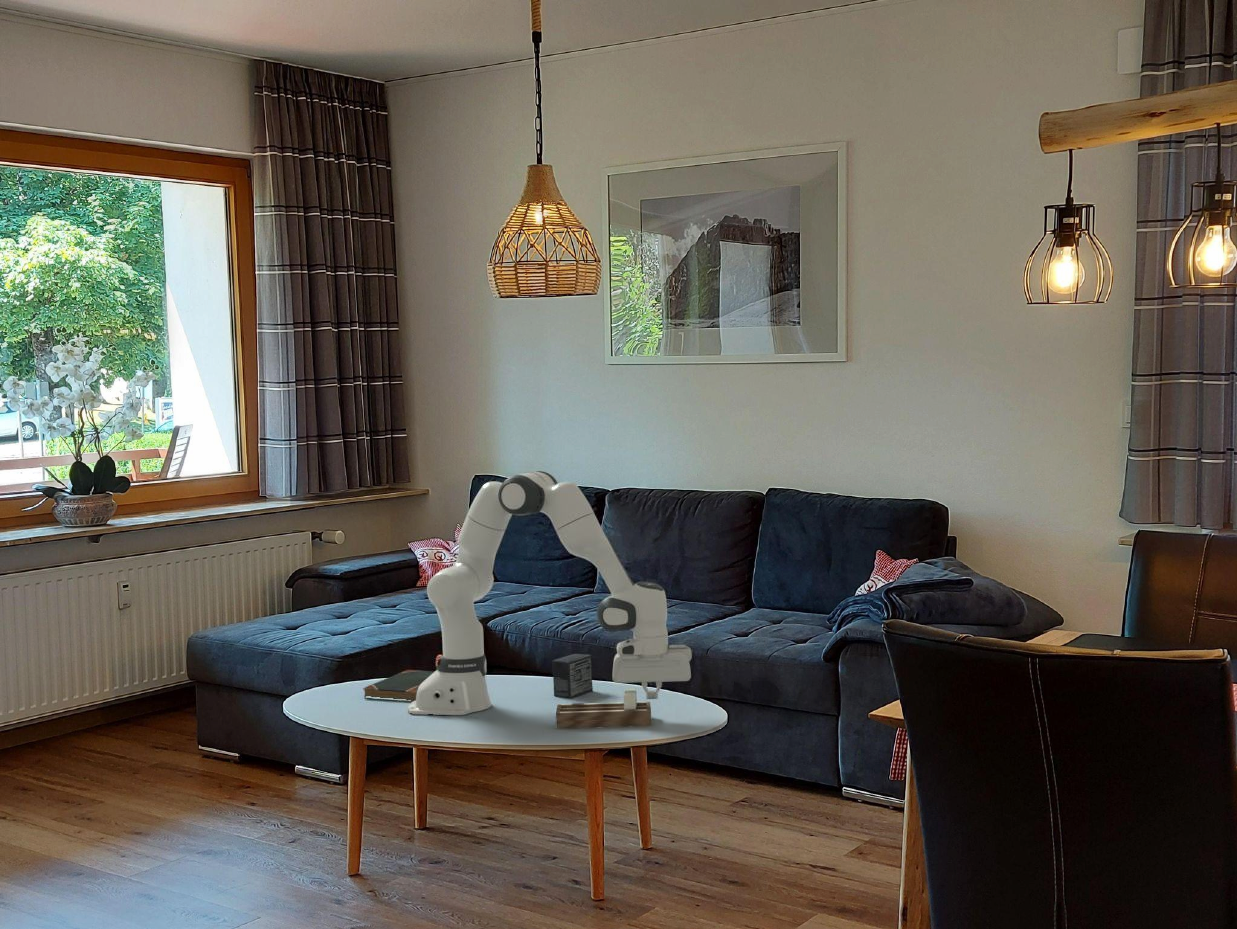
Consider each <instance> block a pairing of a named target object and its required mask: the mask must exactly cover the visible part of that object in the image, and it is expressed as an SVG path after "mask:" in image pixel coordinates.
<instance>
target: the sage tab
mask: <svg viewBox="0 0 1237 929" xmlns="http://www.w3.org/2000/svg"><path fill="white" fill-rule="evenodd" d="M624 693H635V695H636V706H637V702H638V699H637V698H638V697H637V688H625V689H624Z"/></svg>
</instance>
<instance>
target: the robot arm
mask: <svg viewBox="0 0 1237 929" xmlns="http://www.w3.org/2000/svg"><path fill="white" fill-rule="evenodd" d="M578 486H579V485H578ZM578 486H577V483H576V484H575V483H574V482H572V481H561V482H558V481H557V479H556V478H555V476H553V475H552V474H550V473H549V472H546V471H541V470H538V471H525V472H522V473H519V474H515V475H511V476H510V477H508V478H507V479H505V480H504V481H503V482H500V481H488V482H485V483H484V484H483V485H482V486H481V488H480V489H479V491H478V493H477V494H476V496H475V497H474V499H473V501H472V502H471V505H470V507H469V510H468V511H467V514H466V517H465V519H464V522H463V524H462V527H461V529H460V531H459V535H458V536H457V544H458V552H457V557H456V560H455V563H454V564H453V565H452V566H449V567H446V568H442V569H441V570H439V571H437V573H436V574H434V575H433V576H432V577H431V578H430V579H429V580H428V583H427V586H426V594H427V598H428V600H429V602H430V603H431V604H432V605H433V606H434V607H435V611H436V612H437V615H438V619H439V623H440V627H441V628H440V629H441V637H442V640H441V641H442V642H441V643H442V654H438V655H437V656H436V658H435V669H436V670H435V671H434V673H433V674H432V675H430V676H429V677H428V678H427V679H426V680H425V681H423V682H422V683H421V684H420V686H419V687H418V690H417V694H416V700H415V701H413V702H409V704H408V706H407V712H408V711H409V712H408V713H409V714H410V713H412V714H411V715H428V714H433V716H434V715H435V716H436V715H438V716H439V715H441V716H442V715H443V716H444V715H445V716H465V715H468V714H471V713H475V712H476V713H477V712H481V711H483V710H487V709H489V708H491V707H492V705H493V704H492V702H491V698H490V693H489V690H488V686H487V678H486V674H487V659H486V658H487V657H486V654H485V652H484V651H485V650H484V649H485V647H484V628H483V624H482V623H481V622H480V621H479V619H478V617H477V614H476V610H475V609H476V608H475V605H474V604H475V603H474V602H477V601H479V600H481V599H482V598H484V597H485V596H486V595H487V594H488V593H489V592H490V591H491V590H492V588H493V585H494V579H495V578H494V574H493V570H494V564H495V559H496V554H497V553H498V549H499V548H500V544H501V542H502V540H503V537H504V534H505V532H506V530H507V528H508V524H509V523H510V522H509V521H510V520H511V518H512V516H513V515H514V516H519V517H521V516H527V515H529V516H530V515H534V514H535V515H536V514H539V513H543V514H545V515H546V516H547V517H548V518H549V520H550V521H551V524H552V525H553V528H554V531H555V532H556V535H557V536H558V538H559V540H560V542H561V544H562V545H563V547H564V548H565V549H566V551H568V553H569V554H571V555H573V556H575V557H579V558H581V559H584V560H586V561H589V562H590V563H592V564H593V565H594V567H595V568H596V569H597V570H598V572H599V574H600V576H601V577H602V579H603V581H604V583H605V584H606V586H607V588H608V589H609V591H610V594H611V595H609V596H607V597H605V598H604V599H603V600H602V601H600V602H599V604H598V606H597V607H596V608H597V609H596V619H597V621H598V624H599V625H600V626H601V628H602V629H604V630H605V631H606V632H609V633H622V632H625V631H632V633H633V637H632V638H629V639H625V640H623V641H621V642H619V643H617V645H616V652H617V653H615V655H614V658H613V665H612V681H613V682H614V683H617V684H619V683H620V684H621V683H622V684H623V683H626V684H627V683H641V687H642V689H643V690H644V692H645V695H646V698H645V699H646V700H658V698H659V697H658V696H659V692H660V689H661V688H662V686H663V682H688V681H690V679H691V678H692V676H691V675H692V673H691V672H692V671H691V665H690V662H691V660H692V656H693V654H692V649H691V648H690V647H689V646H687V645H686V644H669V634H668V629H667V621H668V620H667V619H668V606H667V604H668V603H667V596H666V591H665V589H664V588H663V587H662V586H661V585H660V584H658V583H656V582H652V581H638V582H636V583H634V581H633V580H632V579H631V577H630V575H629V573H628V571H627V570H626V569H625V567H624V565H623V563H622V561H621V559H620V557H619V556H618V554H617V552H616V550H615V549H614V547H613V546H612V544H611V543H610V541H609V539H608V538H607V536H606V534H605V533H604V530H603V528H602V526H601V524H600V523H599V520H598V519H597V516H596V515H595V514H596V513H595V512H594V510H593V508H592V506H591V504H590V503H589V501H588V500H587V498H586V496H585V495H584V493H583V492H582V490H581V489H580V488H579V487H578ZM648 683H655V686H656V688H655V690H649V689H648Z"/></svg>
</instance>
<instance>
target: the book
mask: <svg viewBox="0 0 1237 929" xmlns="http://www.w3.org/2000/svg"><path fill="white" fill-rule="evenodd" d="M434 672H435V671H432V670H430V671H428V670H417V669H416V670H415V669H406V670H404V671H401V672H399V673H396V674H394V675H392V676H390V677H387V678H385V679H381V680H379V681H376V682H374V683H372V684H369V685H367V686H365V687H363V688H362V690H363V691H364V697H365V696H371V697H380V698H393V699H406V700H411V701H415V700H416V694H417V690H418V687H419V686H420V684H421V683H422V682H423V681H425V680H426V679H427V678H428V677H429V676H430V675H432V674H433V673H434Z"/></svg>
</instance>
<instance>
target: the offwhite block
mask: <svg viewBox="0 0 1237 929" xmlns="http://www.w3.org/2000/svg"><path fill="white" fill-rule="evenodd" d="M636 696H637V694H636V695H635V693H625V692H623V702H624V710H625V709H636Z"/></svg>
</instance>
